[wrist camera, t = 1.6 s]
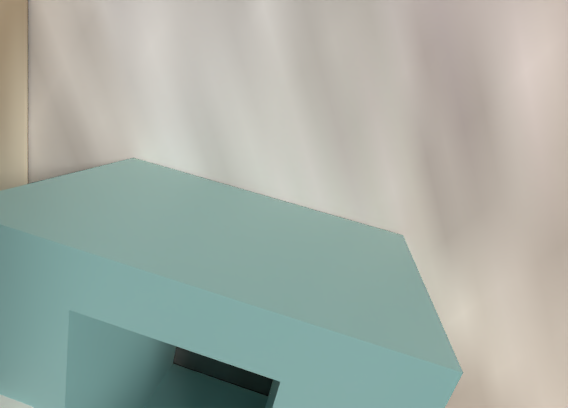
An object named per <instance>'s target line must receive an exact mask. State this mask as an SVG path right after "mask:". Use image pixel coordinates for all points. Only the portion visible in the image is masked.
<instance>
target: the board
mask: <svg viewBox="0 0 568 408" xmlns="http://www.w3.org/2000/svg"><path fill="white" fill-rule="evenodd" d="M26 184H28V0H0V191H2V190H6V189H10V188H14V187H18V186H22V185H26Z"/></svg>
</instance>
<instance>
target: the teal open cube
mask: <svg viewBox="0 0 568 408" xmlns="http://www.w3.org/2000/svg"><path fill="white" fill-rule="evenodd" d="M176 346H177V347H180V348H183V349H185V350H188V351H191V352H194V353H197V354H200V355H203V356H206V357H209V358H212V359H215V360H218V361H221V362H224V363H227V364H230V365H232V366H235V367H238V368H241V369H244V370H247V371H250V372H253V373H256V374H259V375H262V376H265V377H268V378H271V379H273V382H272V385H271V389H270V392H269V395H268V396H265V395H263V394H260V393H257V392H254V391H251V390H248V389H245V388H242V387H239V386H237V385H234V384H231V383H228V382H225V381H222V380H219V379H216V378H213V377H210V376H208V375H205V374H202V373H199V372H196V371H193V370H190V369H187V368H184V367H182V366H179V365H176V364H173V362H174V356H175V350H176ZM462 374H463V372H462V369H461V367H460V365H459V363H458V360H457V358H456V356H455V353H454V351H453V349H452V347H451V344H450V342H449V340H448V337H447V335H446V333H445V331H444V328H443V326H442V324H441V321H440V319H439V317H438V315H437V312H436V310H435V308H434V305H433V303H432V301H431V299H430V296H429V294H428V292H427V289H426V287H425V285H424V283H423V280H422V278H421V276H420V273H419V271H418V269H417V267H416V264H415V262H414V260H413V258H412V255H411V253H410V251H409V248H408V246H407V244H406V242H405V239H404V237H403V235H400V234H396V233H393V232H389V231H386V230H382V229H379V228H375V227H372V226H369V225H365V224H362V223H358V222H355V221H351V220H348V219H344V218H341V217H337V216H334V215H330V214H327V213H323V212H320V211H316V210H313V209H309V208H306V207H302V206H299V205H295V204H292V203H289V202H285V201H282V200H278V199H275V198H271V197H268V196H264V195H261V194H257V193H254V192H250V191H247V190H243V189H240V188H236V187H233V186H229V185H226V184H222V183H219V182H216V181H212V180H209V179H205V178H202V177H198V176H195V175H191V174H188V173H184V172H181V171H177V170H174V169H170V168H167V167H163V166H160V165H156V164H153V163H149V162H146V161H142V160H139V159H136V158H131V159H127V160H123V161H119V162H115V163H111V164H107V165H103V166H99V167H95V168H91V169H86V170H82V171H78V172H74V173H70V174H66V175H62V176H58V177H54V178H50V179H46V180H42V181H38V182H34V183H30V184H26V185H22V186H18V187H14V188H10V189H6V190H2V191H0V408H445V406H446V404H447V402H448V400H449V399H450V397H451V395H452V393H453V391H454V389H455V387H456V385H457V383H458V381H459V379H460V377H461V376H462Z"/></svg>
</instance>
